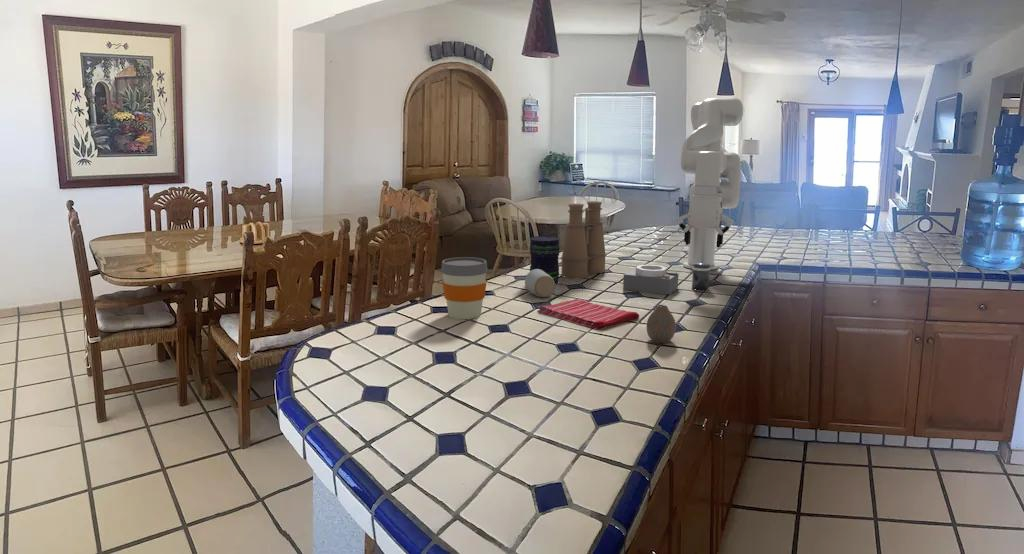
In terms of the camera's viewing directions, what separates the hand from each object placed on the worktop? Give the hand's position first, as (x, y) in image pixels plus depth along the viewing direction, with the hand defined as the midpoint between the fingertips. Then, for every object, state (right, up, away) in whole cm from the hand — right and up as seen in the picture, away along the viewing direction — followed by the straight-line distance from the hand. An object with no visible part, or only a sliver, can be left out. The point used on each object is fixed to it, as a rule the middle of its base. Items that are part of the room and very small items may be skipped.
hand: (702, 245), depth 215 cm
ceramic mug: (-51, -16, -5) cm, 53 cm away
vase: (-24, -26, -50) cm, 61 cm away
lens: (0, -14, +4) cm, 14 cm away
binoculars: (-35, -9, +26) cm, 45 cm away
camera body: (-16, -14, +3) cm, 21 cm away
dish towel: (-40, -21, -28) cm, 53 cm away
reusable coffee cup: (-74, -21, -28) cm, 81 cm away
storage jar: (-50, -12, +12) cm, 53 cm away
